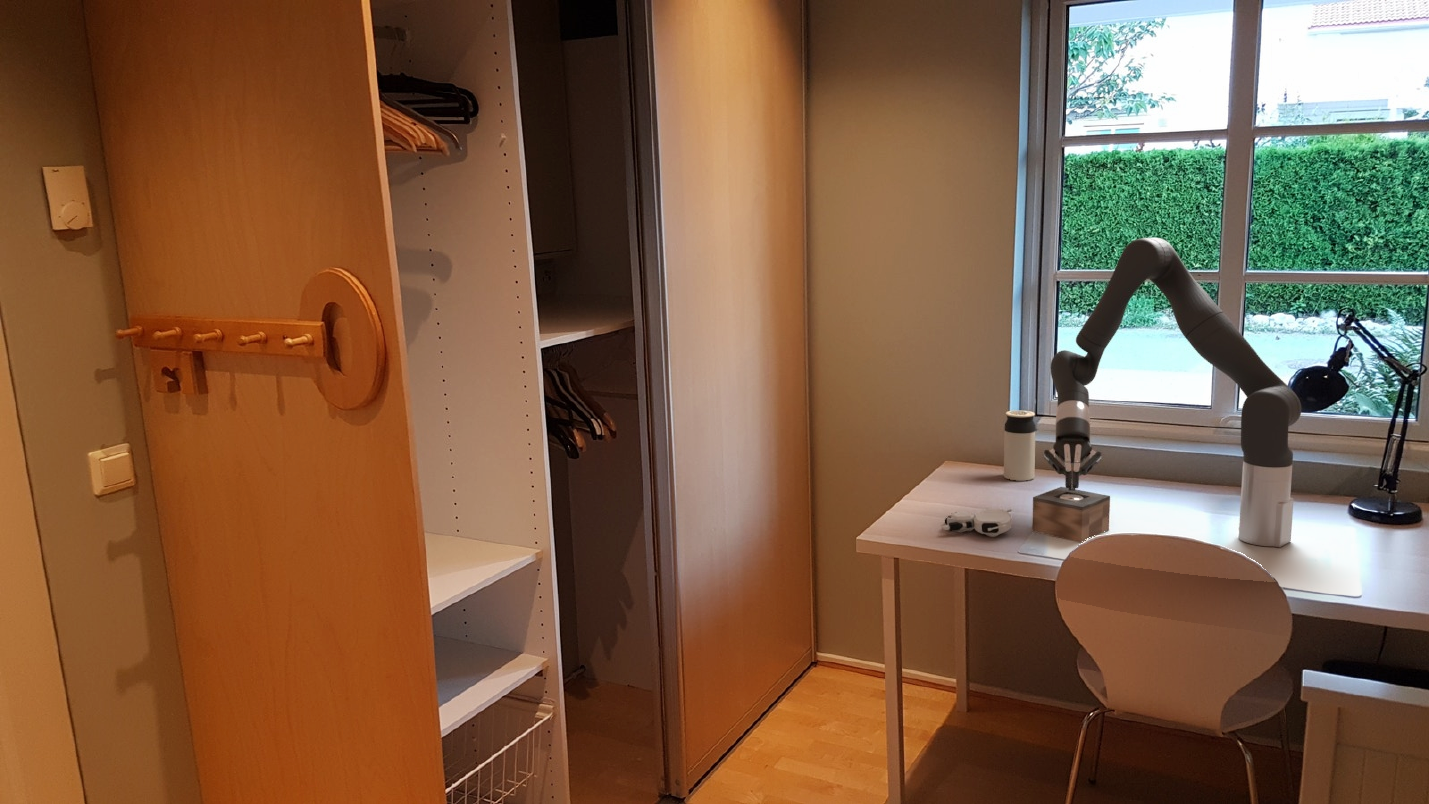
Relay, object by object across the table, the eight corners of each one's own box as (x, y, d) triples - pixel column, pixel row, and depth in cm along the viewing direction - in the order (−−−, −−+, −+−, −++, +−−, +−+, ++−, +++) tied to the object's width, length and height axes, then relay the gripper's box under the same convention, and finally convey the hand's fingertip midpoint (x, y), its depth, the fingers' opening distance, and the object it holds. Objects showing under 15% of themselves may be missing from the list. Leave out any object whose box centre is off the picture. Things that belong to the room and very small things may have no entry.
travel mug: (1005, 481, 273) (1006, 415, 270) (1002, 474, 281) (1003, 410, 278) (1036, 481, 272) (1037, 415, 269) (1032, 474, 280) (1033, 410, 276)
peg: (1086, 530, 230) (1087, 497, 228) (1074, 535, 226) (1075, 501, 225) (1066, 525, 233) (1067, 493, 232) (1054, 530, 230) (1055, 497, 229)
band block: (1108, 530, 229) (1110, 495, 228) (1081, 542, 221) (1082, 507, 220) (1060, 519, 238) (1061, 486, 237) (1032, 531, 230) (1033, 497, 229)
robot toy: (941, 541, 229) (1009, 542, 223) (939, 521, 228) (1008, 522, 223) (949, 525, 240) (1015, 525, 234) (948, 506, 239) (1014, 506, 234)
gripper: (1042, 415, 236) (1041, 479, 227) (1103, 416, 232) (1104, 481, 223) (1043, 432, 242) (1041, 495, 233) (1102, 434, 238) (1102, 498, 229)
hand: (1072, 488), depth 228 cm, fingers closed
